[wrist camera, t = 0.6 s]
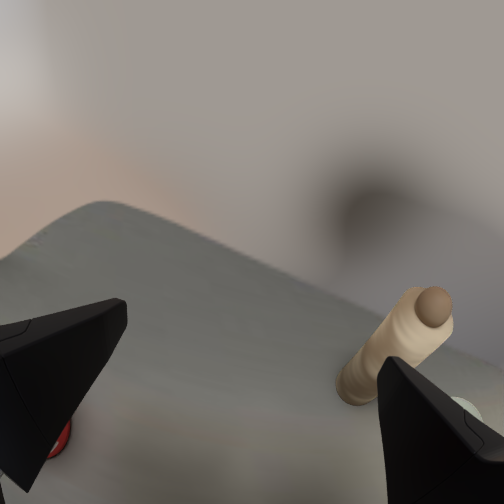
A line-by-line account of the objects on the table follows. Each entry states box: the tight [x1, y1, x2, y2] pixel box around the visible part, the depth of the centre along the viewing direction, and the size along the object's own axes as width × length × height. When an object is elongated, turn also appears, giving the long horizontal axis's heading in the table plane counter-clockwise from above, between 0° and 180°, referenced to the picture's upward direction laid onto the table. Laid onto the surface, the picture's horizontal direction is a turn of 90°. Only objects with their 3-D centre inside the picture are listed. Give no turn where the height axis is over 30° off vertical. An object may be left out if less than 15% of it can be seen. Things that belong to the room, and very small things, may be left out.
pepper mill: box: [336, 287, 453, 406], centre depth 18 cm, size 4×4×14 cm
